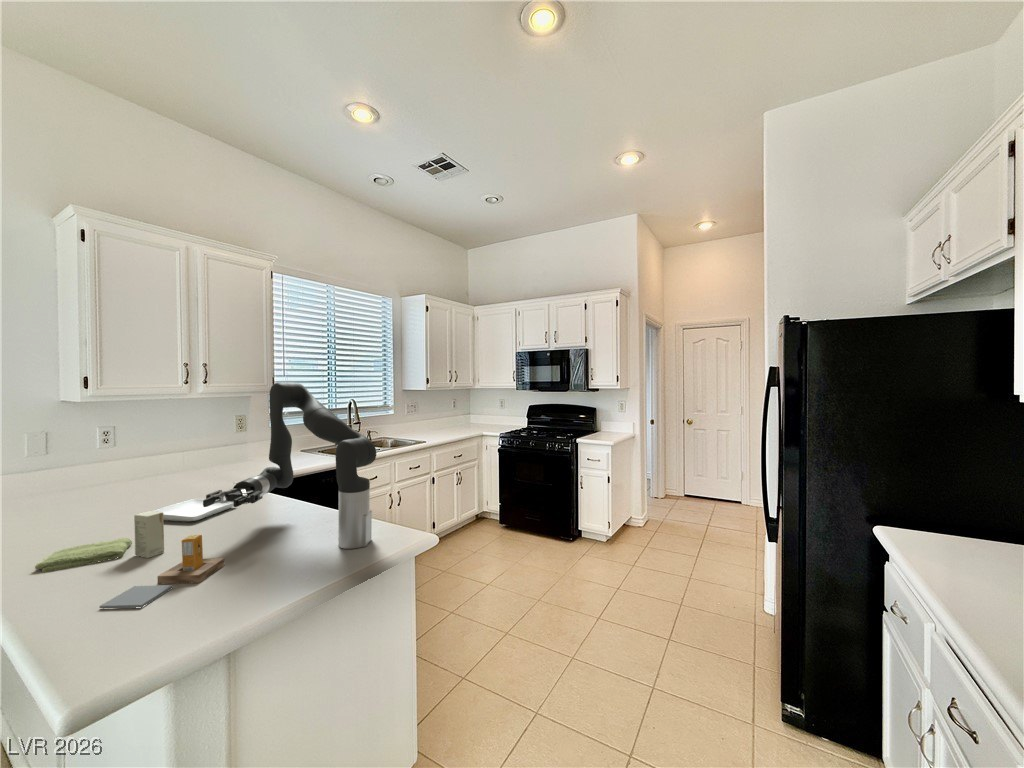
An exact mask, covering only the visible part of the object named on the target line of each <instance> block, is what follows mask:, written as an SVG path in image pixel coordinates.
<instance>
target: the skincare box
mask: <svg viewBox="0 0 1024 768" xmlns="http://www.w3.org/2000/svg"><path fill="white" fill-rule="evenodd" d="M133 515H134V556H135V555H136V556H135V557H139V556H141V557H140V558H147V559H149V558H151V557H155V556H158V555H161V554H163V553H165V531H164V525H165V523H164V521H165V520H163V512H156V511H154V510H149V511H144V512H141V513H137V514H133Z"/></svg>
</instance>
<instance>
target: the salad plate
mask: <svg viewBox="0 0 1024 768" xmlns="http://www.w3.org/2000/svg"><path fill="white" fill-rule="evenodd" d="M205 499H206V498H192V499H188V500H184V501H181V502H178V503H173V504H170V505H167V506H163V507H160V508H158V509H155V510H153V511H156V512H163V521H168V520H169V521H170V522H172V521H173V522H197V521H200V520H203V519H205V517H206V518H208V517H211V516H213V514H214V515H216V514H219V513H221V512H223V511H225V510H229V509H230V508H233V507H234V502H227V503H223V504H221V503H215V504H212V505H210V506H208V507H203V500H205ZM216 501H217V500H216Z"/></svg>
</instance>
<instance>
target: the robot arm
mask: <svg viewBox="0 0 1024 768" xmlns="http://www.w3.org/2000/svg"><path fill="white" fill-rule="evenodd" d="M268 402H269V403H268V405H269V421H270V444H269V453H268V461H270V463H273V464H275V465H277V466H278V467H276V466H269V467H266V468H264V469H263V470H262V471H261V473H260V474H258V475H255V476H251V477H248V478H246V479H243V480H240V481H239V482H237V483H236V484H234V486H233V488H231V489H228V490H225V491H223V490H222V489H219V490H215V491H213V492H210V493H208V494H206V495H205V498H204V499H205V500H203V507H208V506H210V505H212V504H215V503H221V504H223V503H227V502H234V506H233V507H234V508H237V507H240V506H242V505H247V504H255V503H257V502H258V501H260V500H261V499H263V496H265V495H266V494H268V493H270V492H272V491H273V490H274V489H276V488H279V489H286V488H288V487H289V486H291V485H292V483H293V481H294V476H295V475H294V470H293V465H292V459H291V456H292V454H291V453H292V447H293V438H292V435H291V433H290V431H289V429H288V427H287V425H286V424H285V421H284V416H283V410H284V409H285V408H297V409H299V410H301V412H303V413H302V414H303V415H302V421H303V426H304V427H305V428H306V429H308V431H309V432H311V433H312V434H313V435H314V436H316V437H317V438H318V439H320V440H323V441H327V442H329V443H333V444H336V445H337V446H336V449H335V474H336V475H335V476H336V477H335V478H336V482H337V485H338V539H337V540H338V547H339V548H341V549H346V550H350V549H351V550H352V549H358V548H363V547H367V546H368V544H369V543H370V542H371V541H372V530H373V529H372V527H373V526H372V511H373V510H371V508H370V507H371V506H370V505H371V504H370V503H371V502H370V497H371V496H370V495H371V492H370V490H371V489H370V487H371V485H370V484H371V483H370V482H371V481H370V480H369V478H367V477H363V476H359V475H358V469H357V468H362V467H366V466H369V465H371V464H373V462H375V460H376V458H377V449H376V446H375V444H374V443H373V441H371V439H370V438H368V437H367V436H365V435H364V434H361V432H359V431H357V430H355V429H353V428H352V427H350V425H348V424H347V423H345V422H344V421H343V420H342V419H341V418H339V417H338V416H337V415H336V414H335V413H334V412H333V411H331V410H330V409H329V408H327V407H326V406H325V405H323V404H322V403H321V402H320V401H319V400H318V399H316V398H315V397H314V395H313V394H312V393H311V392H310V391H309V390H308V388H306V386H304V385H303V384H302V383H299V382H285V381H284V382H275V383H273V384H272V386H271V387H270V390H269V398H268ZM224 498H225V499H224ZM216 500H217V501H216Z"/></svg>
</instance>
